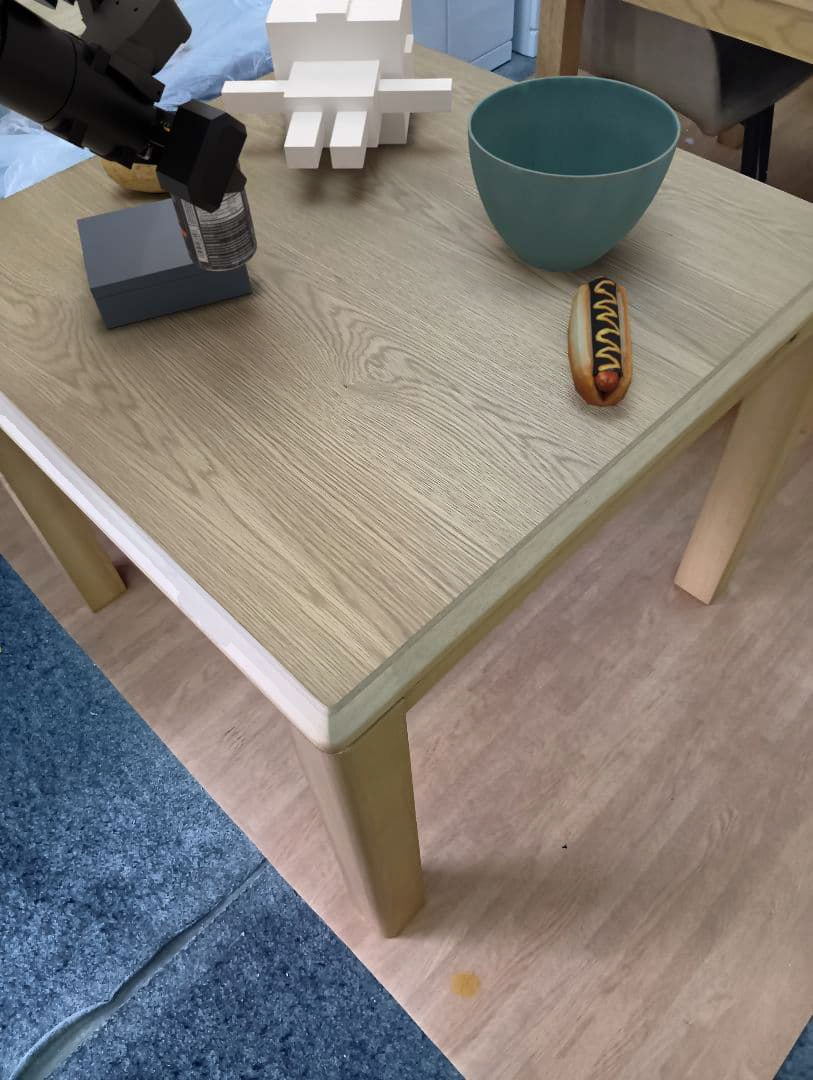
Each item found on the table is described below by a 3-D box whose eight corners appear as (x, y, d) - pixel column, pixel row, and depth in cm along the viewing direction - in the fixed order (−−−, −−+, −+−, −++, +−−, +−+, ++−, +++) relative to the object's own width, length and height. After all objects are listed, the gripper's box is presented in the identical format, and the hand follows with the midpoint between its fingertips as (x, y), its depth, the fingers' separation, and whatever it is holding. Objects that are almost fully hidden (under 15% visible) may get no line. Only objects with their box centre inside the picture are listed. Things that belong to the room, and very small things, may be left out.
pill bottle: (199, 233, 70) (163, 100, 61) (264, 234, 70) (237, 101, 61) (181, 272, 67) (140, 138, 58) (249, 274, 66) (218, 139, 57)
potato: (209, 200, 86) (194, 143, 81) (108, 208, 86) (87, 151, 81) (214, 168, 90) (200, 112, 85) (118, 175, 90) (98, 120, 85)
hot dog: (565, 420, 64) (572, 373, 60) (563, 316, 72) (570, 268, 68) (627, 423, 63) (639, 376, 59) (619, 318, 71) (629, 270, 67)
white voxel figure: (222, 220, 87) (265, 83, 102) (446, 221, 85) (458, 81, 100) (183, 84, 75) (239, -49, 89) (445, 81, 72) (458, -55, 87)
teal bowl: (519, 181, 86) (528, 59, 76) (680, 226, 79) (712, 99, 69) (431, 268, 77) (428, 143, 67) (604, 327, 70) (628, 198, 61)
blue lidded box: (107, 329, 74) (89, 288, 70) (93, 260, 80) (76, 219, 77) (252, 292, 76) (242, 251, 72) (226, 228, 83) (216, 187, 79)
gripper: (187, -28, 44) (342, 104, 58) (5, -85, 52) (180, 43, 65) (119, 168, 47) (283, 249, 61) (-43, 86, 55) (134, 174, 68)
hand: (218, 172), depth 64 cm, fingers closed on pill bottle, 6 cm apart
